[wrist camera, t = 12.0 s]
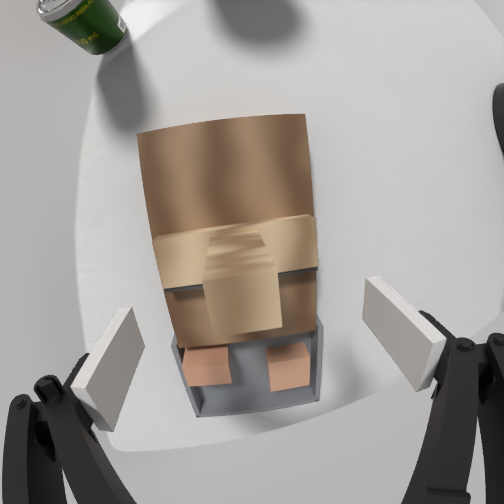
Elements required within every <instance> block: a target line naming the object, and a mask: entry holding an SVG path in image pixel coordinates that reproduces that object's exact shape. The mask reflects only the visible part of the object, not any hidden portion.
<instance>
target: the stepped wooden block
mask: <svg viewBox="0 0 504 504" xmlns="http://www.w3.org/2000/svg"><path fill="white" fill-rule="evenodd" d="M152 244H153V249H154V253H155V257H156V262H157V266H158V270H159V274H160V278H161V282H162V286H163V289H164V291H165V293H168V292H176V291H184V290H191V289H199V288H203V289H204V294H205V299H206V303H207V308H208V313H209V317H210V322H211V326H212V330H213V335H214V337H219V336H226V335H234V334H241V333H248V332H255V331H261V330H268V329H274V328H280V327H282V316H281V305H280V293H279V282H278V277H282V276H288V275H294V274H301V273H307V272H313V271H318V269H317V267H318V254H317V234H316V218H314V217H312V216H311V215H309V214H307V215H299V216H291V217H283V218H275V219H268V220H260V221H253V222H245V223H238V224H231V225H224V226H218V227H211V228H204V229H198V230H191V231H185V232H178V233H172V234H166V235H160V236H157V237H156V238H155V239H154V240H153V241H152Z"/></svg>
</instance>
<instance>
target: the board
mask: <svg viewBox="0 0 504 504" xmlns="http://www.w3.org/2000/svg"><path fill="white" fill-rule="evenodd" d="M137 139H138V149H139V158H140V166H141V173H142V181H143V188H144V194H145V201H146V207H147V213H148V219H149V224H150V230H151V235H152V240H154V239H155V238H156V237H157V236H160V235H166V234H172V233H178V232H185V231H191V230H198V229H204V228H211V227H218V226H224V225H231V224H238V223H245V222H253V221H260V220H268V219H275V218H283V217H291V216H299V215H307V214H309V215H311V216H312V217H314V211H313V195H312V181H311V168H310V157H309V146H308V136H307V127H306V118H305V114H282V115H264V116H251V117H240V118H230V119H221V120H213V121H206V122H199V123H192V124H186V125H180V126H174V127H169V128H164V129H158V130H154V131H149V132H144V133H140V134H137ZM278 282H279V293H280V305H281V316H282V327H280V328H274V329H268V330H261V331H255V332H248V333H241V334H234V335H226V336H219V337H214V335H213V330H212V326H211V322H210V317H209V313H208V308H207V303H206V299H205V294H204V289H203V288H199V289H191V290H184V291H176V292H168V293H165V291H164V294H165V298H166V302H167V306H168V310H169V314H170V317H171V321H172V325H173V328H174V332H175V335H176V339H177V342H178V346H179V348H185V347H197V346H208V345H218V344H227V343H235V342H243V341H251V340H258V339H265V338H272V337H278V336H285V335H291V334H297V333H302V332H308V331H313V330H316V271H313V272H307V273H301V274H294V275H288V276H282V277H278ZM163 290H164V289H163Z"/></svg>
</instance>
